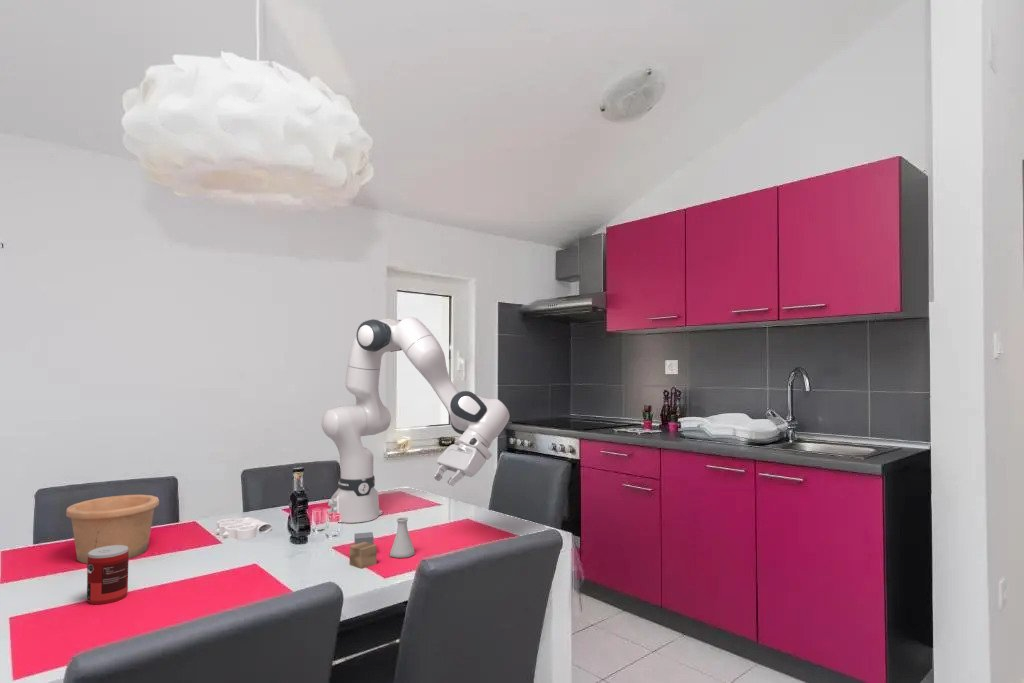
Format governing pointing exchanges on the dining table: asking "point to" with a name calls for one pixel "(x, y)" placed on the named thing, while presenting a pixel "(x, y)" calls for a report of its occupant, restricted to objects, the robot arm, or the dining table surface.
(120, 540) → the pottery
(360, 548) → the walnut block
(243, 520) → the white holed piece
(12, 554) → the dining table surface
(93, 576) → the canned food
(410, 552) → the flask
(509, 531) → the dining table surface
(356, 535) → the charcoal block
